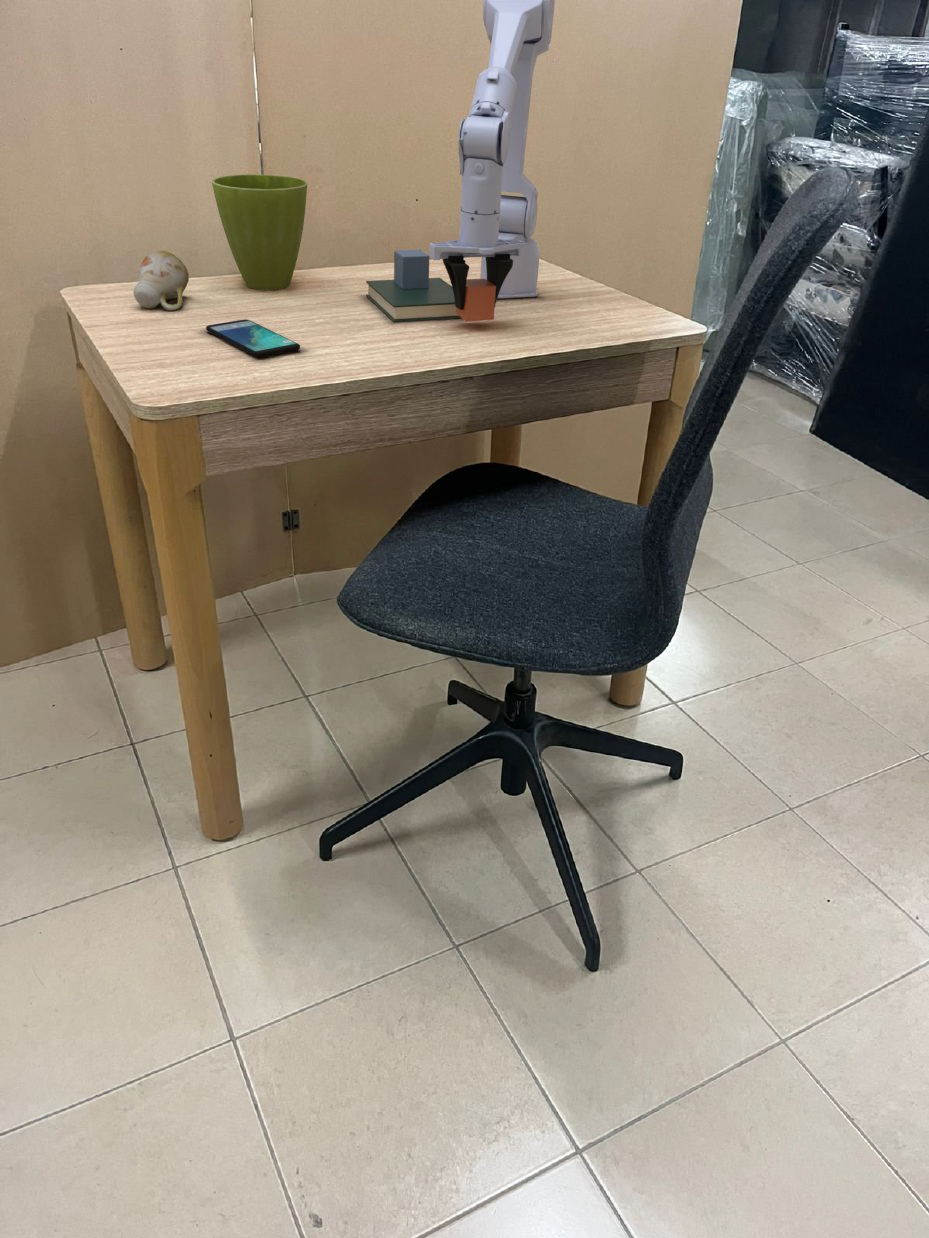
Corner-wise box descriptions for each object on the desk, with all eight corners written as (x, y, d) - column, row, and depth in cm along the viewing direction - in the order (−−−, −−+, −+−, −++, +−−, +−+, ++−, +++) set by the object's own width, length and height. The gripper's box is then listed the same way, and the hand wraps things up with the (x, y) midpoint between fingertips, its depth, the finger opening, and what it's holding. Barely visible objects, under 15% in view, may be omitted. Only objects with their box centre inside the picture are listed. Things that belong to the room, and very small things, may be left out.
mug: (121, 311, 137) (116, 244, 136) (161, 325, 146) (157, 262, 145) (163, 304, 135) (157, 236, 134) (201, 319, 144) (196, 255, 143)
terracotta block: (482, 311, 141) (484, 278, 138) (493, 320, 138) (496, 286, 135) (455, 313, 140) (457, 279, 137) (466, 321, 136) (468, 287, 133)
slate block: (419, 281, 151) (420, 249, 148) (428, 288, 147) (429, 256, 144) (393, 282, 149) (394, 250, 146) (402, 289, 146) (402, 256, 143)
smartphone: (247, 318, 134) (302, 345, 125) (248, 323, 134) (302, 350, 125) (203, 325, 130) (256, 353, 121) (203, 331, 130) (257, 359, 121)
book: (439, 292, 155) (439, 277, 153) (471, 317, 143) (472, 301, 142) (366, 296, 150) (365, 280, 149) (393, 322, 139) (393, 305, 138)
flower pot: (203, 282, 152) (192, 178, 143) (273, 269, 162) (266, 171, 153) (260, 301, 144) (251, 192, 136) (329, 287, 154) (326, 184, 145)
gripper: (442, 217, 125) (439, 317, 132) (537, 215, 129) (528, 311, 137) (425, 207, 130) (423, 304, 138) (517, 206, 135) (510, 299, 142)
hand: (474, 307), depth 138 cm, fingers closed on terracotta block, 4 cm apart
